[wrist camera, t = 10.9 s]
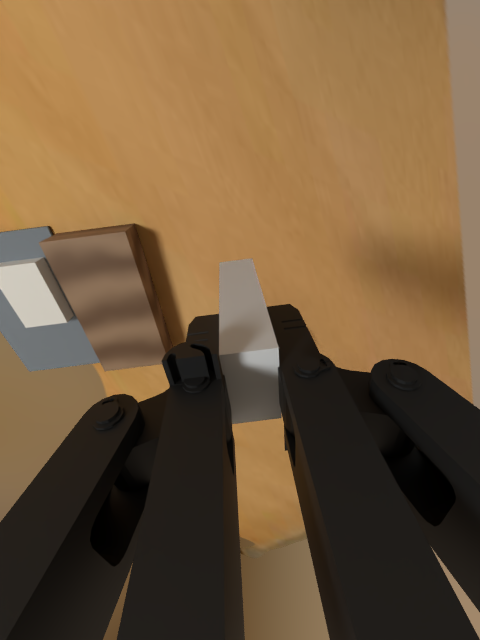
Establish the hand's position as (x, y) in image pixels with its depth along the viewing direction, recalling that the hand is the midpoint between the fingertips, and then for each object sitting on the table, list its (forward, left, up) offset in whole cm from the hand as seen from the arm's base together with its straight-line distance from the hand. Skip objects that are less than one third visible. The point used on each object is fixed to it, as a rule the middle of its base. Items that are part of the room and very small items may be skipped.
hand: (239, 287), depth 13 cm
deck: (+11, -17, -24) cm, 32 cm away
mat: (+11, -30, -24) cm, 40 cm away
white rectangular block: (+8, -28, -22) cm, 36 cm away
